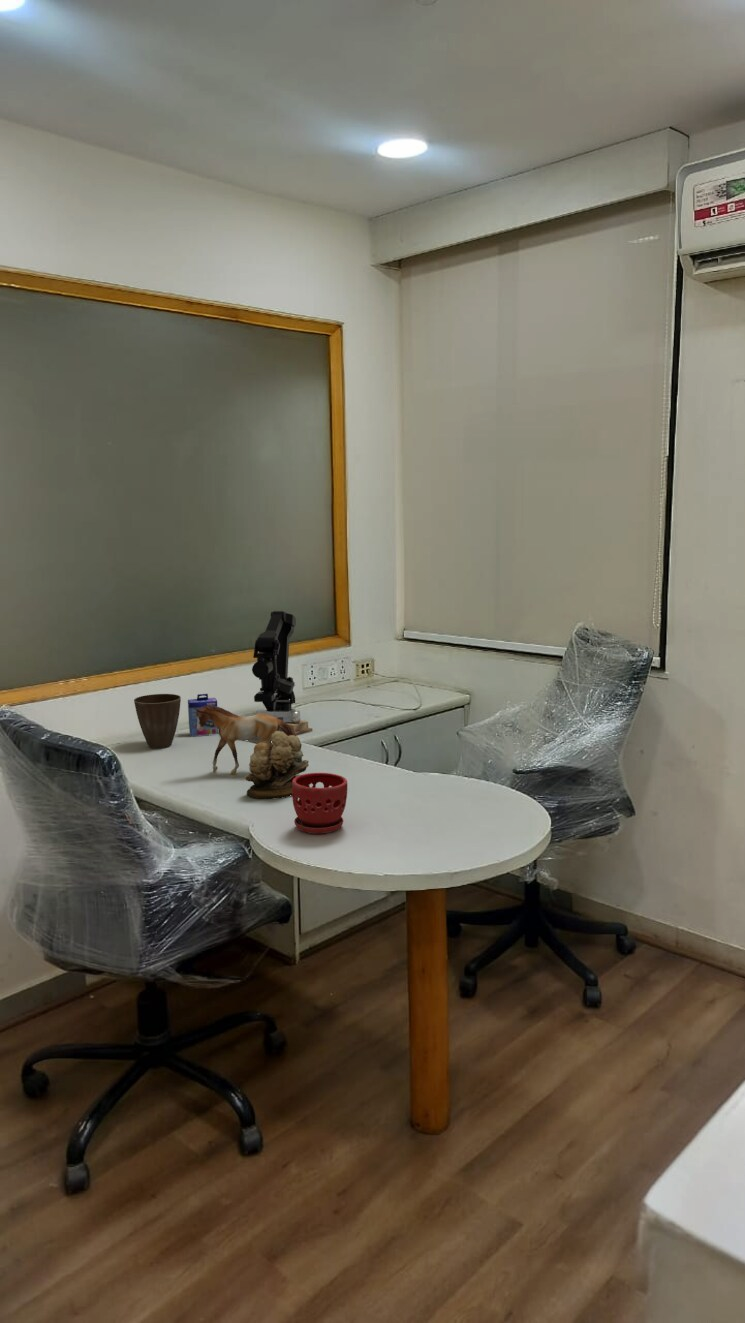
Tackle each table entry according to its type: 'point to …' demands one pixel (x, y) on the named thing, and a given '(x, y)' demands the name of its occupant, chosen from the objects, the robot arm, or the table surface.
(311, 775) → the plant pot
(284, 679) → the robot arm
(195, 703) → the ink cartridge box
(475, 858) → the table surface
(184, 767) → the table surface
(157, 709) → the plant pot
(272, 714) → the lock bar
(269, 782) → the beige lumpy carved figure
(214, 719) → the horse figurine
